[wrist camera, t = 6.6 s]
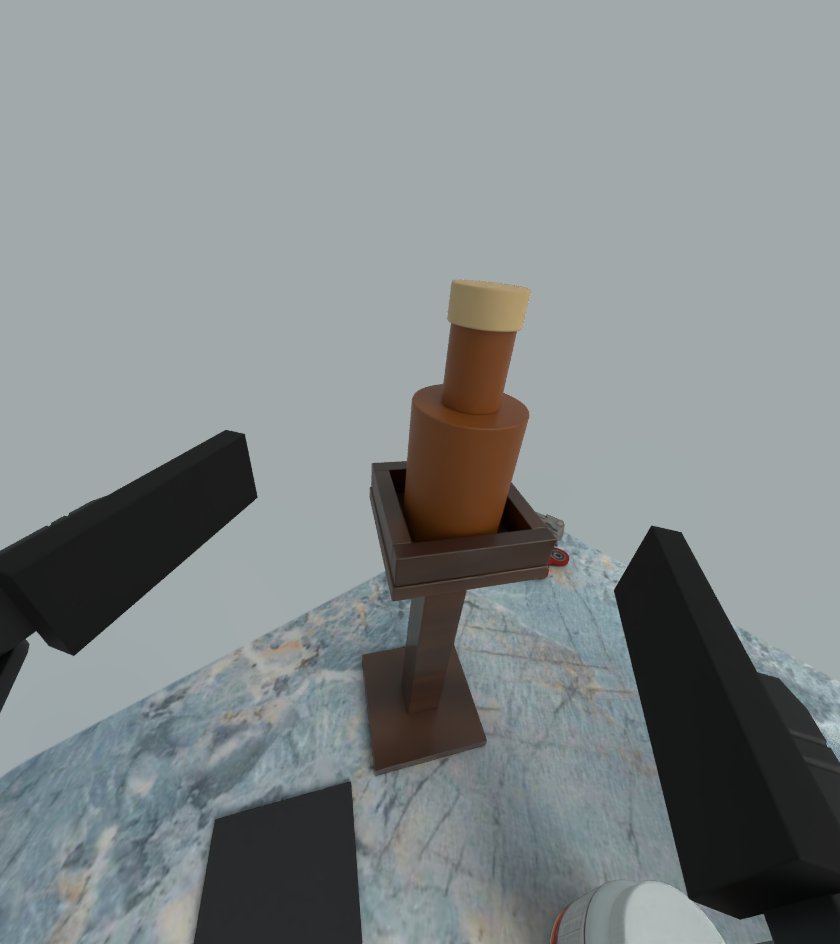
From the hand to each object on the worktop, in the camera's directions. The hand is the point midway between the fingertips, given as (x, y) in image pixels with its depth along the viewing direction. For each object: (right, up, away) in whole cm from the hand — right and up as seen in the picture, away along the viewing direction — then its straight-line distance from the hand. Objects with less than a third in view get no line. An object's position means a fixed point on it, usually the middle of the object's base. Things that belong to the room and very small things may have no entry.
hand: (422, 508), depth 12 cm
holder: (0, -21, +23) cm, 31 cm away
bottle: (+2, -2, +11) cm, 11 cm away
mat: (-9, -27, +12) cm, 31 cm away
